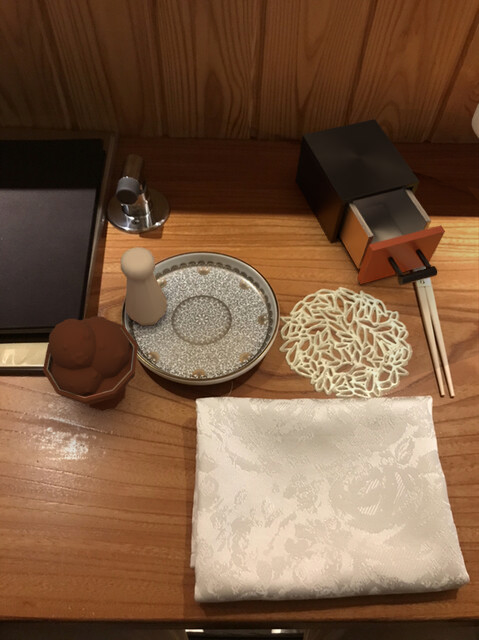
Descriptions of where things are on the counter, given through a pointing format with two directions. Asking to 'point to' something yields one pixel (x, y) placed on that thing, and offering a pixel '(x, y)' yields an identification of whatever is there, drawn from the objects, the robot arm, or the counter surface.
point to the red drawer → (390, 237)
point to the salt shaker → (142, 287)
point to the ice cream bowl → (91, 361)
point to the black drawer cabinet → (348, 170)
